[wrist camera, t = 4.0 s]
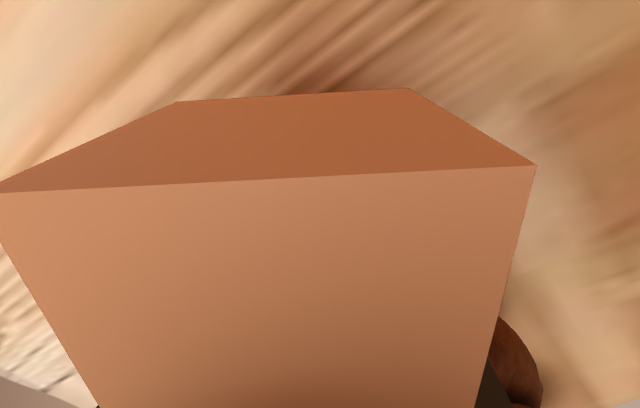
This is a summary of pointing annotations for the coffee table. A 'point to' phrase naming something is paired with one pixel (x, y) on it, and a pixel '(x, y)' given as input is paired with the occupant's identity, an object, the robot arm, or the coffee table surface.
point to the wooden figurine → (515, 367)
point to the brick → (274, 252)
